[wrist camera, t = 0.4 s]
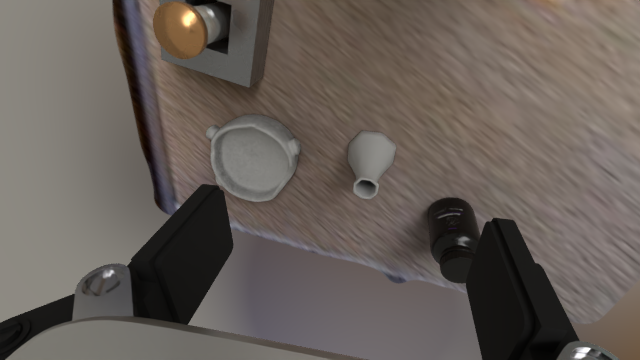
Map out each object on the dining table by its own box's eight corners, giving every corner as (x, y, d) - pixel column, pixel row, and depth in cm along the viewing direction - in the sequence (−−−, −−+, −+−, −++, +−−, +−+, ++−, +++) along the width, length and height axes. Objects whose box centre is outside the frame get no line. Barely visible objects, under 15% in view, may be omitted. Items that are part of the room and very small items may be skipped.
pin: (207, -11, 41) (151, -6, 32) (247, 2, 41) (203, 11, 32) (205, 34, 44) (154, 50, 35) (243, 46, 44) (201, 65, 35)
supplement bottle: (448, 187, 49) (460, 242, 39) (483, 211, 50) (504, 270, 40) (417, 215, 53) (421, 271, 43) (450, 236, 54) (462, 296, 44)
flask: (339, 161, 50) (328, 198, 42) (359, 121, 46) (350, 154, 38) (382, 180, 51) (378, 220, 42) (405, 142, 47) (406, 178, 38)
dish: (309, 123, 48) (300, 137, 44) (295, 196, 56) (287, 213, 52) (217, 98, 49) (200, 110, 45) (216, 173, 57) (202, 189, 53)
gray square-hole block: (183, -49, 39) (157, -52, 35) (276, -20, 39) (262, -19, 35) (182, 51, 46) (161, 59, 42) (262, 77, 46) (249, 87, 42)
